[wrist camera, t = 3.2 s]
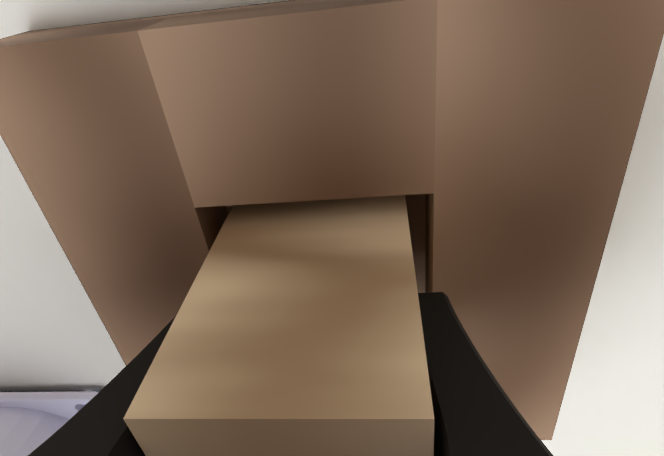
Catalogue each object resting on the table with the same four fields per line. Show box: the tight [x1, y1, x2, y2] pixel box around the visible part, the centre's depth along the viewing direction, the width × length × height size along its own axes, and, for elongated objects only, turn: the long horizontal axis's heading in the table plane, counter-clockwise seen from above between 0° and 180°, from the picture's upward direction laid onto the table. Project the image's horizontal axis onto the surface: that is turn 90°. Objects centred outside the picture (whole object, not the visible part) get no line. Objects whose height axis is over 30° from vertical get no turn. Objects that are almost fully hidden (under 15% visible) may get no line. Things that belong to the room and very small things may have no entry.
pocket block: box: [0, 0, 664, 440], centre depth 11 cm, size 12×12×2 cm
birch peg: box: [123, 195, 434, 456], centre depth 9 cm, size 4×4×6 cm
